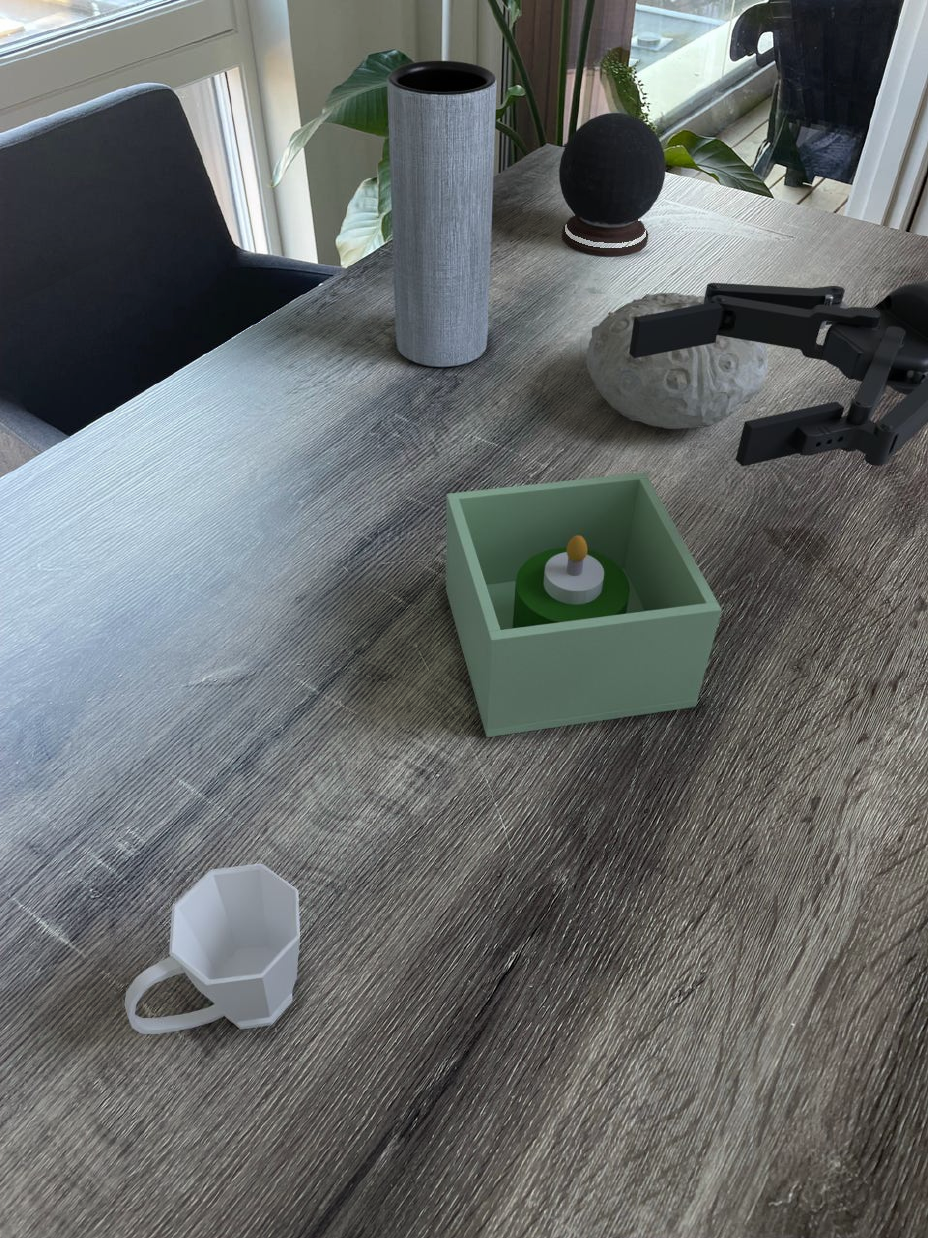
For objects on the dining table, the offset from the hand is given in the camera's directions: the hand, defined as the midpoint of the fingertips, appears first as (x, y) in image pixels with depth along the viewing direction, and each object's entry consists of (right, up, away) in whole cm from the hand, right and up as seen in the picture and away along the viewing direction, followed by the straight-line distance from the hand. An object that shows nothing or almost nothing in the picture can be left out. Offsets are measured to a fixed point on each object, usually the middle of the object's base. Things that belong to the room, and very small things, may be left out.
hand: (684, 387), depth 64 cm
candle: (-6, -16, +13) cm, 22 cm away
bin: (-6, -17, +13) cm, 22 cm away
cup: (-27, -37, -7) cm, 46 cm away
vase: (-17, +15, +46) cm, 51 cm away
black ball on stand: (+4, +35, +67) cm, 76 cm away
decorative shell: (+7, +7, +39) cm, 40 cm away
